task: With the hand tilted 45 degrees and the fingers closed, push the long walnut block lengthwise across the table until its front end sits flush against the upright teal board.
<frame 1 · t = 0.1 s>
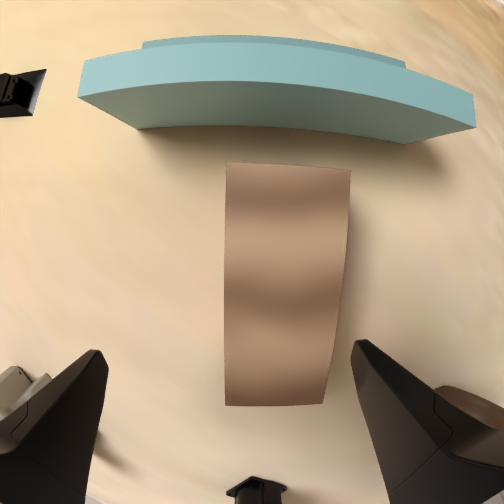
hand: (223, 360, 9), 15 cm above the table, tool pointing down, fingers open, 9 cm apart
digital clock: (55, 405, 28), on the table
black block on plate: (17, 95, 21), on the table
teal board: (277, 113, 22), on the table
walnut block: (271, 269, 25), on the table
plant pot: (431, 407, 29), on the table
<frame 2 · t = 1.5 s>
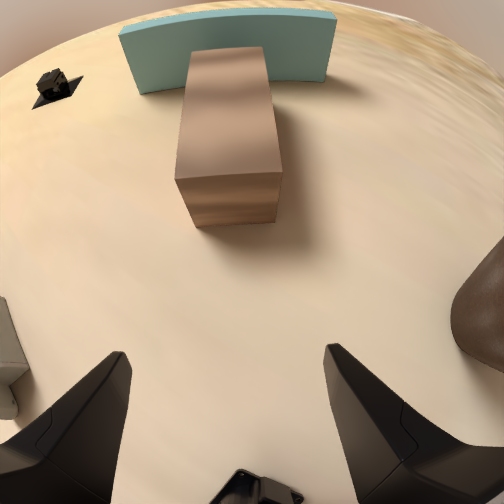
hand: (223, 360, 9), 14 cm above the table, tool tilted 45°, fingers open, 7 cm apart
digital clock: (0, 348, 21), on the table
black block on plate: (58, 94, 35), on the table
teal board: (230, 77, 32), on the table
walnut block: (232, 153, 28), on the table
plant pot: (473, 320, 22), on the table
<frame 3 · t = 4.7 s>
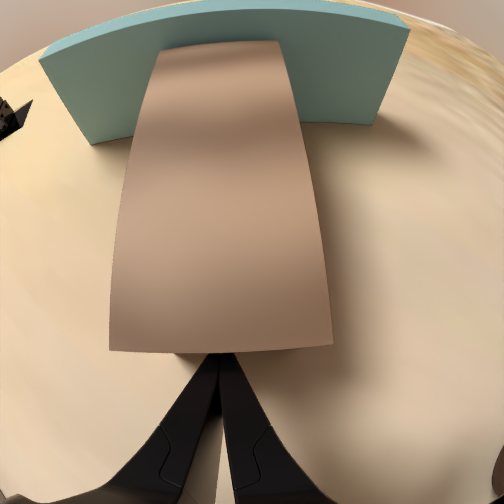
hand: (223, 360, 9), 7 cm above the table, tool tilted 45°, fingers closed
black block on plate: (5, 131, 24), on the table
teal board: (227, 114, 21), on the table
walnut block: (228, 221, 18), on the table
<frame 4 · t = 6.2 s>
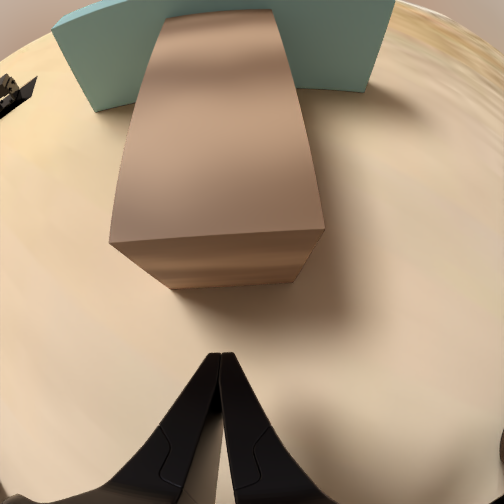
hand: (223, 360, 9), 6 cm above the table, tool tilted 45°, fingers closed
black block on plate: (10, 107, 24), on the table
teal board: (225, 81, 22), on the table
walnut block: (226, 167, 19), on the table
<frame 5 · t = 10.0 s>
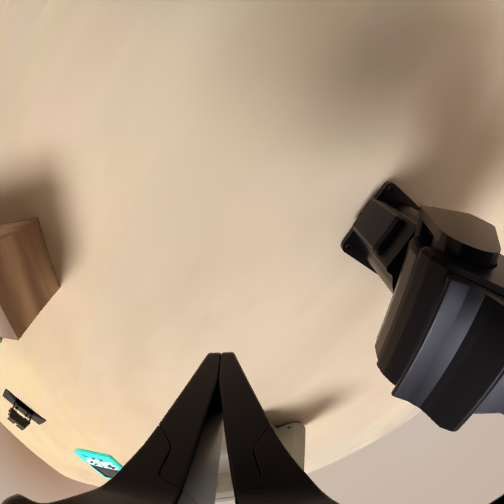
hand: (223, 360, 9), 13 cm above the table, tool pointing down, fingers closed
digital clock: (245, 433, 34), on the table
black block on plate: (24, 405, 35), on the table
handheld game console: (108, 464, 43), on the table
walnut block: (0, 258, 21), on the table
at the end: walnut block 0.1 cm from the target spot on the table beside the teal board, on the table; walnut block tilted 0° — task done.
